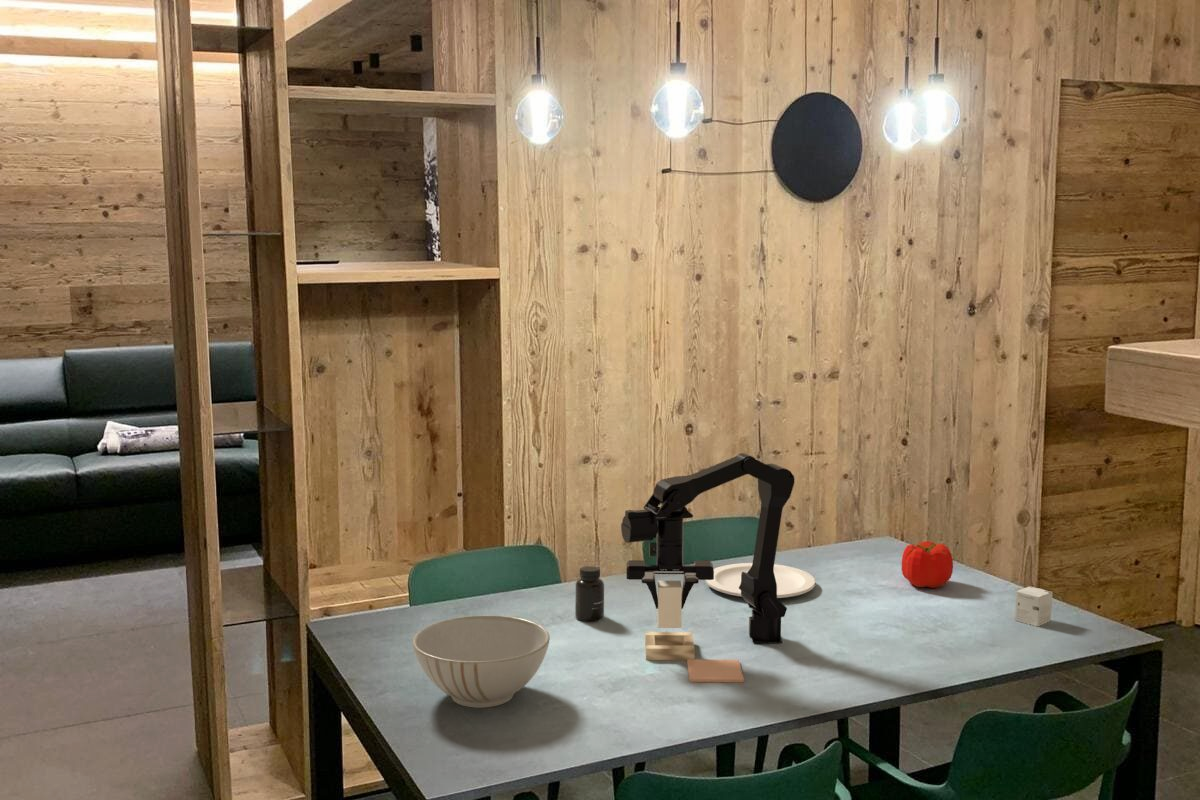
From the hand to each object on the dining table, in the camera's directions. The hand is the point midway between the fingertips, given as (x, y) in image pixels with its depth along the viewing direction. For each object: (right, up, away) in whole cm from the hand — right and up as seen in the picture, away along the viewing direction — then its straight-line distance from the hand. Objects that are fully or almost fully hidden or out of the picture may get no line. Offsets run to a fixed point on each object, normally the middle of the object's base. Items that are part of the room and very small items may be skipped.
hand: (669, 608), depth 259 cm
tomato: (+69, -3, +49) cm, 84 cm away
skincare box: (+86, -7, +21) cm, 89 cm away
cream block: (0, -4, +1) cm, 4 cm away
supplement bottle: (-18, -7, +24) cm, 30 cm away
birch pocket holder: (0, -10, +2) cm, 10 cm away
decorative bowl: (-38, -14, -22) cm, 47 cm away
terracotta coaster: (+9, -11, -10) cm, 18 cm away
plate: (+26, -3, +48) cm, 54 cm away
